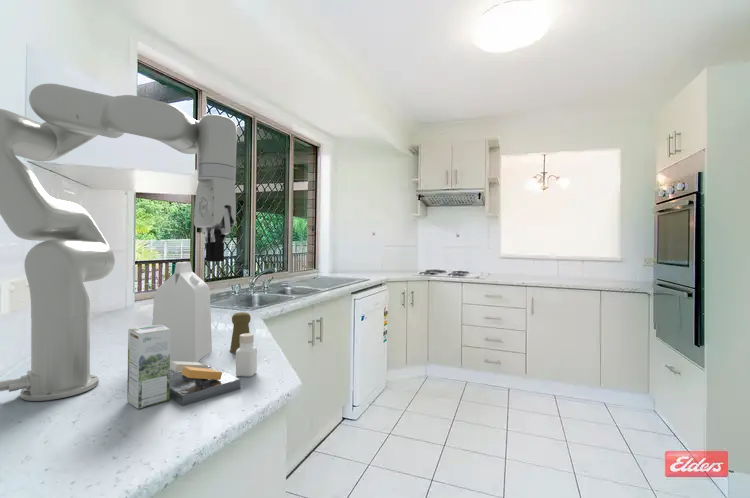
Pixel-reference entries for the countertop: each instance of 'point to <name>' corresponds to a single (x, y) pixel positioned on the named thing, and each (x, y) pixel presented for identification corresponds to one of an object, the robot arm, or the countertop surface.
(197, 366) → the rocker white
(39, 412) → the countertop surface
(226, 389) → the breaker panel
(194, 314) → the milk
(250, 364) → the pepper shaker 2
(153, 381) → the syrup box
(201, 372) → the rocker orange
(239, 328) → the pepper shaker
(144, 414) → the countertop surface
